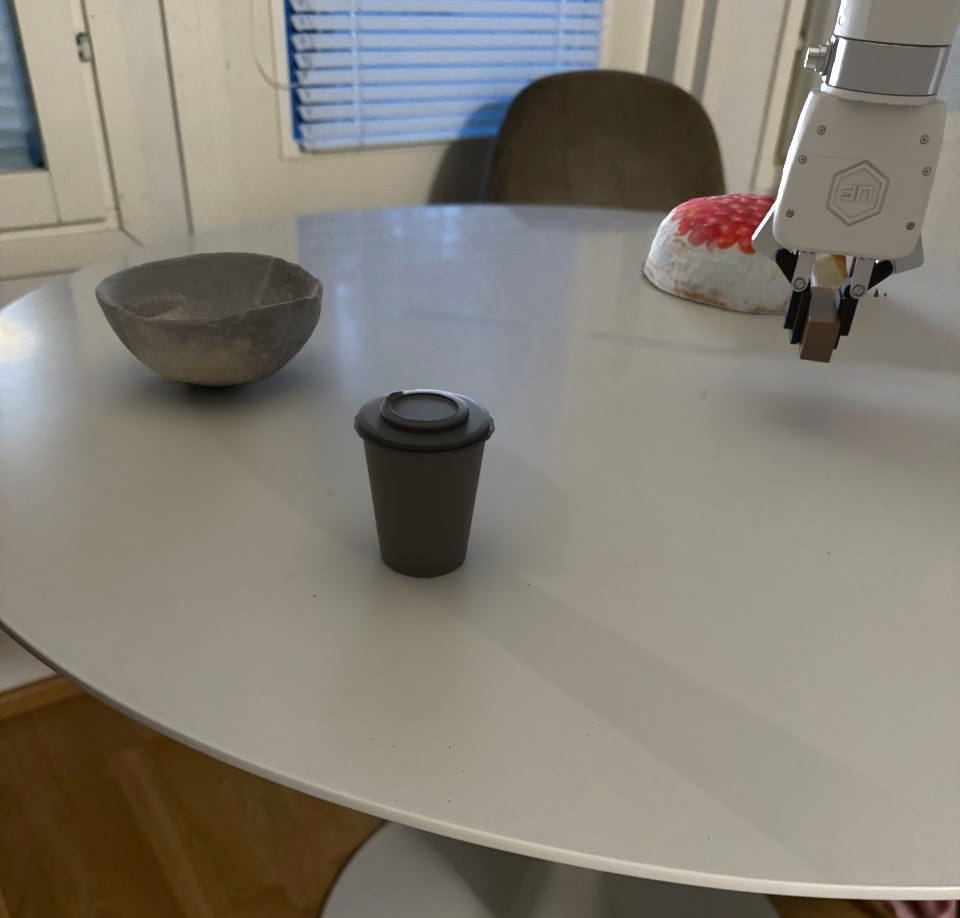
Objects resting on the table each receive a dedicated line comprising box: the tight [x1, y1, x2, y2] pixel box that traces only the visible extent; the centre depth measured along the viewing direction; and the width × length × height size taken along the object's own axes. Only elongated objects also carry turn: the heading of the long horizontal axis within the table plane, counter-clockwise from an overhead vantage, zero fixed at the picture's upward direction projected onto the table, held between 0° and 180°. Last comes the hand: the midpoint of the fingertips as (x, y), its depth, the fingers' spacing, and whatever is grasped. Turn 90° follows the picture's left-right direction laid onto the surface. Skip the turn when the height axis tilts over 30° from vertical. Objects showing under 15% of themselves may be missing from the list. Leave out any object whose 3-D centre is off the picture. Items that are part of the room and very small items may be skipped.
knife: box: [797, 263, 840, 364], centre depth 78 cm, size 18×2×3 cm, turn 168°
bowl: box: [94, 251, 324, 387], centre depth 79 cm, size 18×18×8 cm
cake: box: [643, 192, 888, 315], centre depth 102 cm, size 23×24×10 cm
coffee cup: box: [353, 388, 496, 578], centre depth 57 cm, size 8×8×10 cm
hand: (812, 339), depth 75 cm, fingers closed on knife, 2 cm apart
